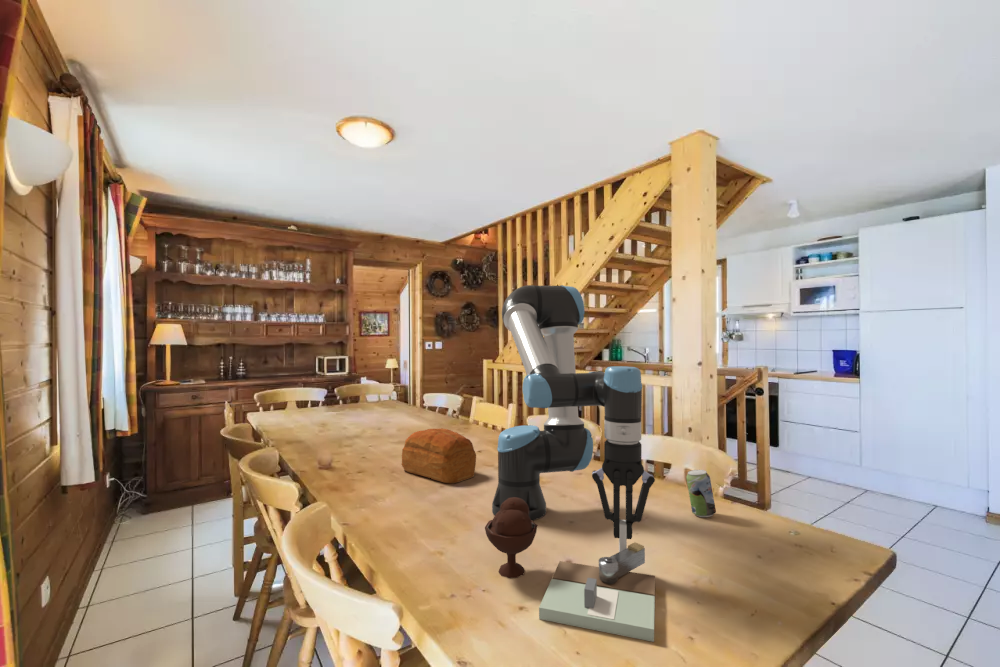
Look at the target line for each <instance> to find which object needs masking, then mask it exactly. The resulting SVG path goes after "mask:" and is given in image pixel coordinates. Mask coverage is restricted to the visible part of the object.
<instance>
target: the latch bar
mask: <svg viewBox="0 0 1000 667" xmlns="http://www.w3.org/2000/svg"><path fill="white" fill-rule="evenodd" d="M645 551H646V549H645V545H643V544H640V543H638V542H635V541H634V542H632V543H630V544H628V545H627V548H626V549H624V550H622V551H620V552H619V551H618V552H617V553H614V554H612V555H611V556H602V557H600V558H599V559H598V567H599V579H600V580H601V581H603V582H607V583H614V582H617V581H618V578H619V577H621V576H622V575H624V574H626V573H628V572H632V571H633V570H635V569H637V568H638V567H640V566H643V565H645V563H646V560H645V558H646V557H645V556H646V554H645V553H646V552H645Z"/></svg>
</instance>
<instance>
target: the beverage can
mask: <svg viewBox="0 0 1000 667" xmlns="http://www.w3.org/2000/svg"><path fill="white" fill-rule="evenodd" d="M707 472H708V471H706V470H704V469H693V470H689V471H687V474H686V477H685V479H686V484H687V490H688V495H689V496H688V497H689V501H690V507H691V512H692V514H694V515H695V516H697V517H700V518H710V517H713V516H714V515H715V514H716V512H717V510H716V509H717V508H716V504H715V498H714V492H713V488H712V481H711V477H710V475H709V474H708V473H707Z"/></svg>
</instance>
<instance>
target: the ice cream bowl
mask: <svg viewBox="0 0 1000 667" xmlns="http://www.w3.org/2000/svg"><path fill="white" fill-rule="evenodd" d="M537 530H538V524H537V523H536V522H535V521H534V520H531V519H530V517H529V506H528V505H527V503H526V502H525V501H524V500H523V499H521V498H517V497H512V498H508V499H507V500H505V501H504V502H503V503H502V504H501V506H500V511H499V512H498V513H496V515H493V518H492V519H491V520H488V521H487V523H486V525H485V526H484V531H485V534H486V538H487V539H488V541H489V542H490V543H491V544H492V546H493V547H494V548H495V549H497V550H498V551H499V552H501V553H504V554H506V555H507V557H506V558H507V561H506V562H505V563H503V564H501V565H500V567H499V569H498V574H499V575H500V576H501V577H504V578H507V579H518V578H519V577H520V578H521V577H522V576H524V574H525V571H526V570H525V567H523V566H522V564H520V563H518V562H516V561H517V559H516V555H517V554H519V553H522V552H524V551H526V550H527V549H528V548H529V547H530V546H532V544H533V542H534V540H535V537H536V534H537Z"/></svg>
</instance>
